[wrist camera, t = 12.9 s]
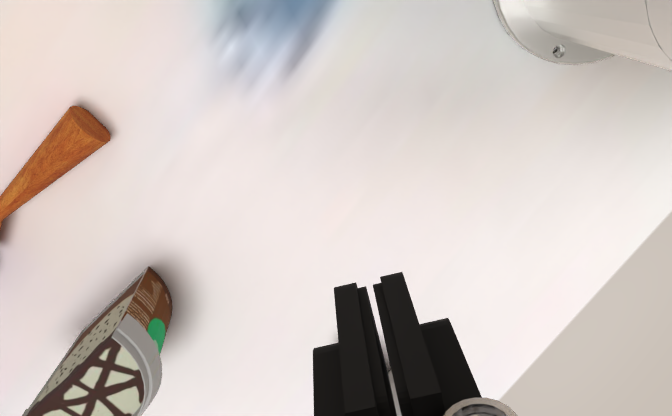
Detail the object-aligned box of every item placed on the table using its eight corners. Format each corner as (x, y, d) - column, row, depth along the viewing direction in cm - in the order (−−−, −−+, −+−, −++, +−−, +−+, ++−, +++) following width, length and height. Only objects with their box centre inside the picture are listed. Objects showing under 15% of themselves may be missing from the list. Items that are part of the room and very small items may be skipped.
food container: (128, 379, 48) (84, 474, 39) (71, 341, 46) (10, 432, 37) (217, 299, 45) (191, 383, 36) (160, 255, 43) (117, 331, 34)
